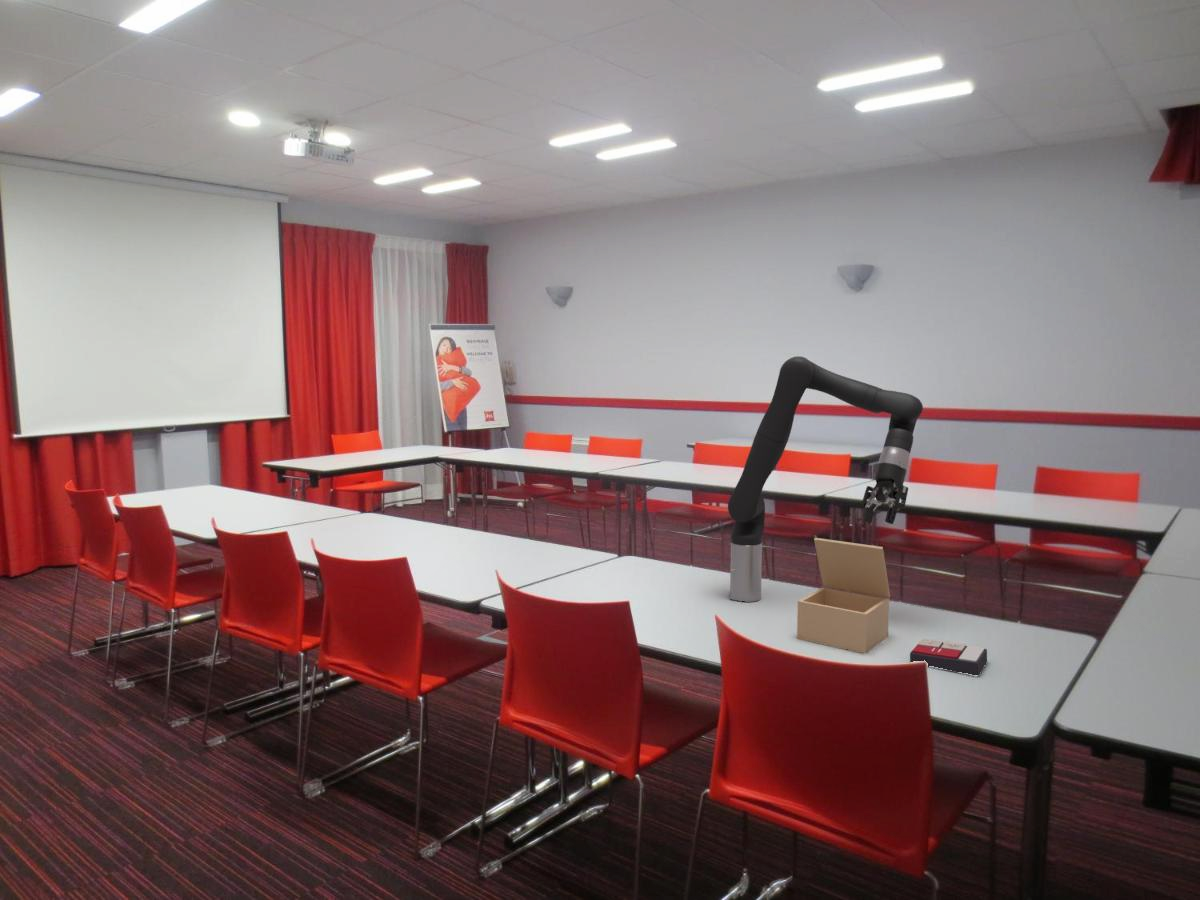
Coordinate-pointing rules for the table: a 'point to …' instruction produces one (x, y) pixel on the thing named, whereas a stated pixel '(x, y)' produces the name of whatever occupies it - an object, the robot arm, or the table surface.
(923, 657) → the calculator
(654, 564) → the table surface
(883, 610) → the box
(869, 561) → the lid
